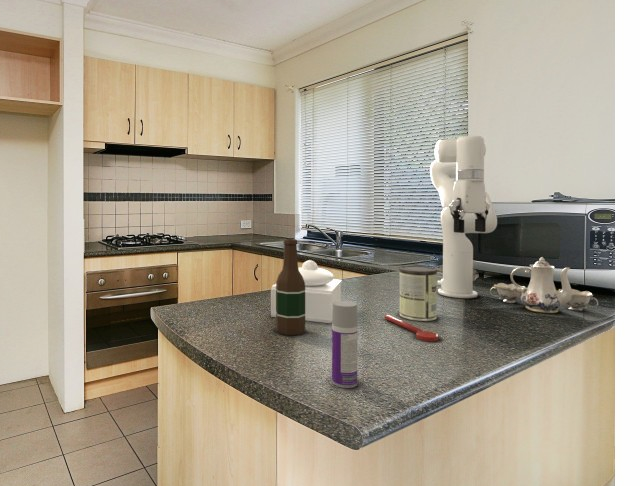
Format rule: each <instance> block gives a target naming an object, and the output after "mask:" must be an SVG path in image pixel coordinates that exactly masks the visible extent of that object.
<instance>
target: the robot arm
mask: <svg viewBox="0 0 640 486" xmlns="http://www.w3.org/2000/svg"><path fill="white" fill-rule="evenodd" d="M486 149H487V148H486V144H485V138H484V137H482V136H481V135H464V136H461V137H450V138H445V139H439V140H437V142H436V144H435V147H434V157H435V160H434V161H433V162H431V164H430V168H429V174H430V179H431V182H432V184H433V186H434V188H435V189H436V191H437V192H438V194H439V198H440V203H441V207H442V210H441V212H440V224H441V231H442V278H441V279H440V280H437V285H439V286H440V288H438V289H437V294H438V295H440V296H444V297H449V298H456V299H474V298H477V297H478V296H479V295H478V291H475V290H474V289H473V287H474V286H473V285H474V284H473V283H474V282H473V281H474V246H473V243H472V241H471V240H470V239H469V238H468V237H467V235H465V234H489V233H492V232H494V231H495V230H496V228H497V227H498V216H497V213H496V210H495V207H494V204H493V202H492V199H491V197H490V195H489V193H487V192H486V184H485V156H486V152H487V151H486Z"/></svg>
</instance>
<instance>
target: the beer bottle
mask: <svg viewBox="0 0 640 486" xmlns="http://www.w3.org/2000/svg"><path fill="white" fill-rule="evenodd" d="M282 243H283V247H284V248H283V261H282V263H283V264H282V269H281V271H280V272H279V274H278V276H277V279H276V281H275V282H276V283H275V284H276V317H275V327H276V331H277V333H278V334H281V335H284V336H299V335H301V334H304V333H305V332H306V320H305V282H304V279H303V277H302V275H301V273H300V272H299V269H298V268H299V264H298V263H299V262H298V247H297V245H298V240H297V239H296V238H285V239H283V242H282Z"/></svg>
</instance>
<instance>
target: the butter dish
mask: <svg viewBox="0 0 640 486" xmlns="http://www.w3.org/2000/svg"><path fill="white" fill-rule="evenodd" d="M298 269H299V272H300V273H301V275H302V277H303V279H304V282H305V322H316V323H325V324H332V311H333V302H335V301H342V283H343V280H342V279H338V278H337V279H335V276H334V274H333V273H332V272H331V271H329V270H326V269H324V268H319V266H318V264H317V263H316V262H315V261H314V260H312V259H308V260H306V261H304V262H303V263H302V265H301V267H298ZM270 317H271V318H276V283H275V284H273V285H272V286H271V288H270Z"/></svg>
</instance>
